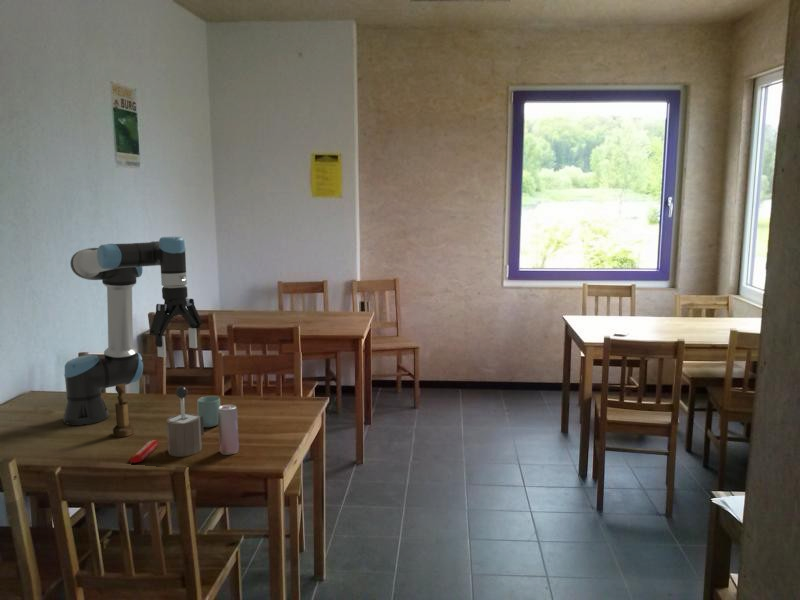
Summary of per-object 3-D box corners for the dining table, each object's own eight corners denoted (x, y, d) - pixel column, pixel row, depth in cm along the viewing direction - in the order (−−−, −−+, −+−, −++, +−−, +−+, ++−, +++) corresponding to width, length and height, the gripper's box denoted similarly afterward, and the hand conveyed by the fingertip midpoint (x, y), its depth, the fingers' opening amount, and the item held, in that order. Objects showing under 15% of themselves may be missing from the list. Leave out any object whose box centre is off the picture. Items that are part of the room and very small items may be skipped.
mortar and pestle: (137, 431, 224) (134, 382, 221) (124, 438, 218) (120, 387, 215) (122, 429, 226) (119, 380, 224) (109, 436, 220) (105, 385, 217)
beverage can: (221, 448, 208) (219, 404, 206) (240, 448, 208) (238, 403, 206) (218, 455, 202) (215, 410, 200) (237, 455, 202) (235, 409, 200)
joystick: (169, 446, 204) (165, 388, 202) (184, 439, 211) (181, 382, 208) (185, 449, 202) (181, 390, 199) (200, 442, 208) (197, 385, 205)
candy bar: (148, 446, 211) (148, 437, 211) (159, 446, 211) (159, 437, 211) (128, 466, 195) (127, 456, 195) (140, 465, 195) (139, 456, 195)
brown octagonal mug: (162, 453, 204) (159, 421, 202) (191, 439, 216) (189, 409, 214) (185, 458, 200) (183, 425, 198) (214, 444, 212) (212, 413, 210)
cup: (214, 430, 225) (213, 402, 224) (194, 428, 227) (193, 401, 225) (224, 422, 233) (223, 396, 231) (205, 421, 234) (204, 395, 233)
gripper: (152, 291, 186) (157, 362, 190) (211, 282, 209) (214, 345, 212) (134, 290, 189) (138, 359, 193) (193, 281, 212) (196, 343, 215)
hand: (178, 352), depth 202 cm, fingers open, 13 cm apart
